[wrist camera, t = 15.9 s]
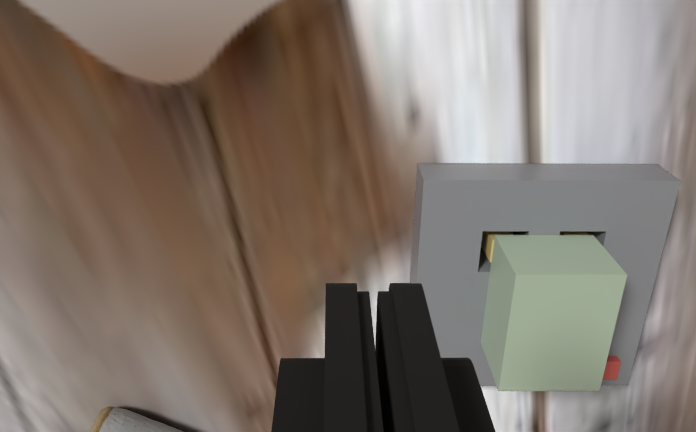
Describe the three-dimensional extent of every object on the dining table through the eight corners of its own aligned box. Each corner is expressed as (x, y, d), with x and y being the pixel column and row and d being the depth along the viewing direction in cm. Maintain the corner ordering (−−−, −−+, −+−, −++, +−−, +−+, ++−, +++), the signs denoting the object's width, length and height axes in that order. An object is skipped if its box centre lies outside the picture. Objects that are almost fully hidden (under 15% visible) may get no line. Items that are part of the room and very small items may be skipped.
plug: (483, 216, 42) (514, 274, 35) (578, 216, 42) (629, 274, 35) (471, 319, 45) (496, 391, 38) (559, 319, 46) (601, 390, 39)
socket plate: (417, 163, 40) (425, 183, 37) (657, 164, 41) (685, 184, 38) (404, 360, 47) (410, 392, 44) (610, 359, 48) (631, 390, 44)
